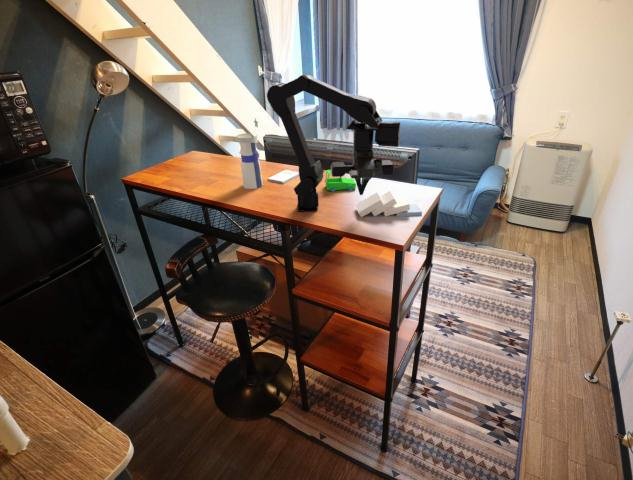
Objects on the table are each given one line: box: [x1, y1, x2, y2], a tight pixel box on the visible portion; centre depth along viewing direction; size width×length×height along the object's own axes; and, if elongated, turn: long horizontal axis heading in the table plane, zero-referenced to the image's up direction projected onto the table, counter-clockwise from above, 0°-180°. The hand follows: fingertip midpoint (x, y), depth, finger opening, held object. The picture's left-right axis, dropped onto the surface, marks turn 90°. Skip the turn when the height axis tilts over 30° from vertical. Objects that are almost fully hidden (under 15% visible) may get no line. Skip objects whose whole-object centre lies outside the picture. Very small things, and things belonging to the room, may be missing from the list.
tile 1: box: [355, 192, 383, 218], centre depth 110 cm, size 2×6×8 cm
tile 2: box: [371, 191, 397, 217], centre depth 110 cm, size 2×6×8 cm
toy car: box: [324, 169, 357, 192], centre depth 129 cm, size 11×7×7 cm, turn 95°
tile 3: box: [382, 196, 410, 217], centre depth 111 cm, size 2×6×8 cm
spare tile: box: [395, 203, 423, 217], centre depth 112 cm, size 2×6×8 cm
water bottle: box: [234, 117, 264, 190], centre depth 129 cm, size 8×9×25 cm
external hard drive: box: [266, 169, 299, 185], centre depth 142 cm, size 2×8×12 cm
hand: (360, 194), depth 108 cm, fingers closed
